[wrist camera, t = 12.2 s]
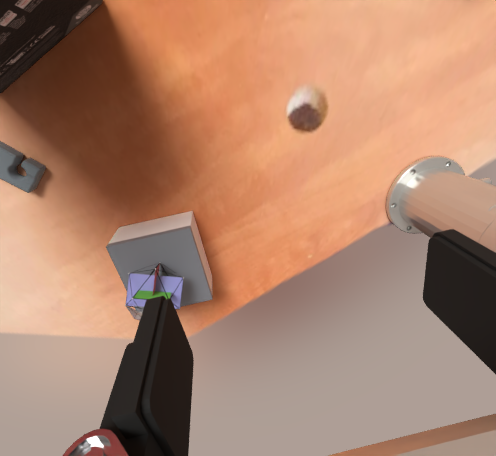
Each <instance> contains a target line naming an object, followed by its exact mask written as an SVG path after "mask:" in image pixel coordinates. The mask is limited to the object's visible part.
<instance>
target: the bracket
mask: <svg viewBox="0 0 496 456" xmlns="http://www.w3.org/2000/svg"><path fill="white" fill-rule="evenodd" d="M23 157H24V155H23V153H21V152H19V151H17V150H15V149H14V148H12V147H10V146H8V145H6V144H5V143H3V142H1V141H0V179H2V180H4V181H6V182H8V183H10V184H12V185H14V186H16V187H18V188H20V189H22V190H24V191H26V192H28V193H29V192H32V191H33V190H35V189H36V187H37V185H38V183H39V181H40V179H41V177H42V175H43V173H44V171H45V169H46V167H45V166H44V165H43V164H41V163H39V162H37V161H35V160H34V159H32V158H28V159H26V160H24V161H23V162H21V161H22V159H23ZM21 163H22V165H21V167H22V168H24V170H25V171H26V174H27V175H26V176H22V175H21V174H19V173H18V171H17V165H19V164H21Z"/></svg>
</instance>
